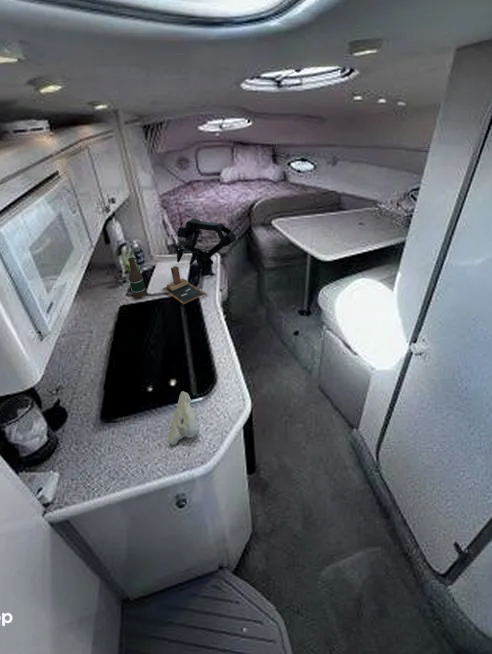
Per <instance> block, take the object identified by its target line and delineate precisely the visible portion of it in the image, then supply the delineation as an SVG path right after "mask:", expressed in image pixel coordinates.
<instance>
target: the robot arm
mask: <svg viewBox="0 0 492 654" xmlns="http://www.w3.org/2000/svg"><path fill="white" fill-rule="evenodd" d="M202 231H210V232H211V231H212V232H216V234H217V237H218V239H219V241H218V243H216V244H215V245H214V246H213V247H211V249H209V250H208V251H207V250H206V249H205V250H204V251H203V249H200V248H198V247H196V246H197V245H198V243H197V242H198V238H199V236H200V235H203V233H202ZM176 236H177V237H178V238H180V239H181V240H180V239H179V240H178V244H174V245H173V250H174V251H175V252H176V263H178V264H179V262H180V261H181V260H182V258H183V255H184V252H187V253H191V258H190V261H189V266H192V265H193V264H194V263H195V261H196V264H197V266H198V269H200V273H201V276H202V277H208V276H210V277H212V276H214V275H215V273H214V272H213V266H212V265H214V260H213V259H212V257H213V256H214V255H216V254H217V253H218V252H219V251H220V250H222V249H223V248H225V247H227V246H230V245H231V244H232V243H234V242H235V241H236V239H237V236H236V234H235V233H234V232H233V231H232V230H231V229H230V228H228V227H226V226H225V225H224V224H223V223H221V222H220V223H218V222H209V221H202V220H200V219H198V218H191V219H189V220H188V221H186V222H185V226H179V227H178V230H177V234H176ZM182 239H185V240H182Z"/></svg>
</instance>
